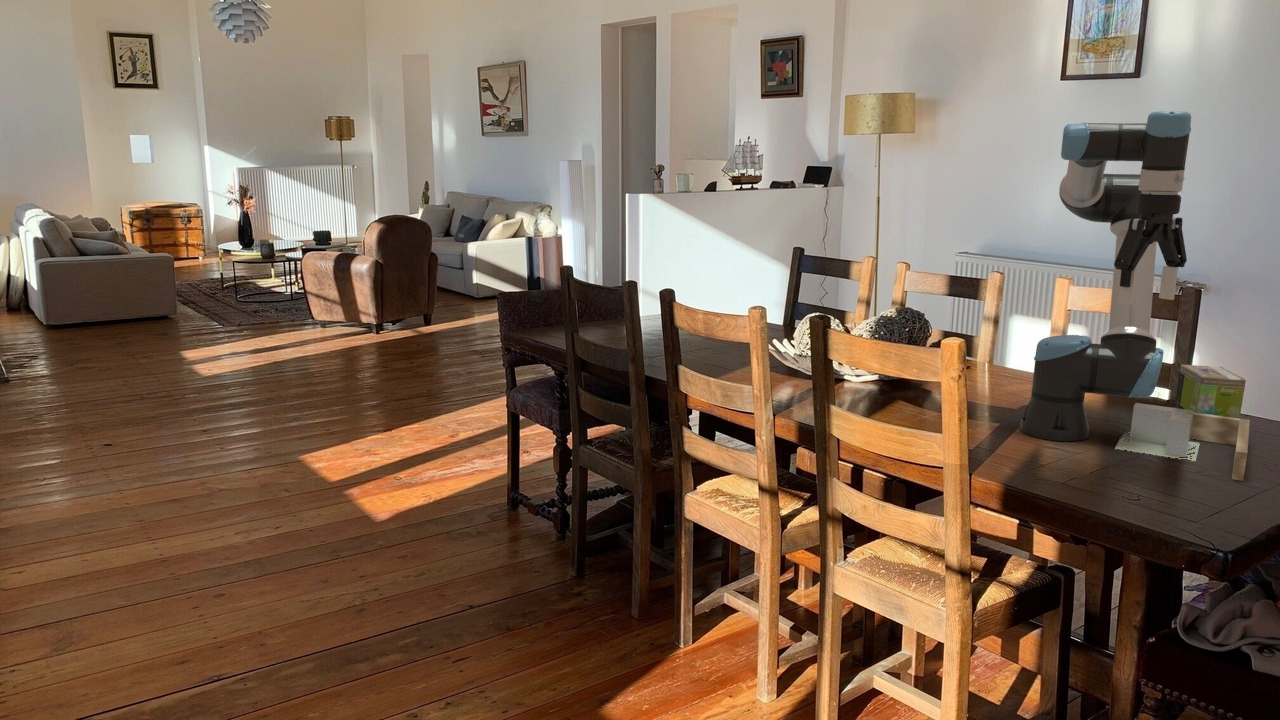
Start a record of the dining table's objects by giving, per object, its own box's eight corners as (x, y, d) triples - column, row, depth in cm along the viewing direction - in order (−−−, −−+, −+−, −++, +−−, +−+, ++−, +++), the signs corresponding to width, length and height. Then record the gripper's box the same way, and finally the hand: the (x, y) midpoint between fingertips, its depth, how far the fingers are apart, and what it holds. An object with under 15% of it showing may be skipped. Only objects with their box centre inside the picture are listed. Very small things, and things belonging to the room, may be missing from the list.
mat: (1114, 449, 219) (1114, 448, 219) (1123, 432, 233) (1123, 431, 232) (1195, 462, 211) (1195, 461, 211) (1199, 443, 224) (1199, 443, 224)
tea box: (1238, 440, 227) (1247, 379, 224) (1191, 437, 229) (1200, 376, 226) (1214, 422, 242) (1223, 365, 239) (1171, 420, 244) (1178, 363, 241)
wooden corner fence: (1135, 463, 209) (1138, 436, 208) (1149, 430, 234) (1152, 406, 233) (1243, 480, 199) (1247, 453, 198) (1245, 444, 224) (1249, 419, 222)
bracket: (1185, 457, 213) (1190, 422, 212) (1125, 448, 220) (1129, 414, 218) (1189, 444, 223) (1193, 410, 222) (1131, 435, 230) (1135, 402, 228)
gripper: (1139, 194, 179) (1125, 308, 183) (1215, 193, 191) (1200, 299, 196) (1102, 193, 185) (1089, 302, 190) (1178, 191, 197) (1164, 294, 202)
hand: (1146, 301), depth 193 cm, fingers open, 13 cm apart
